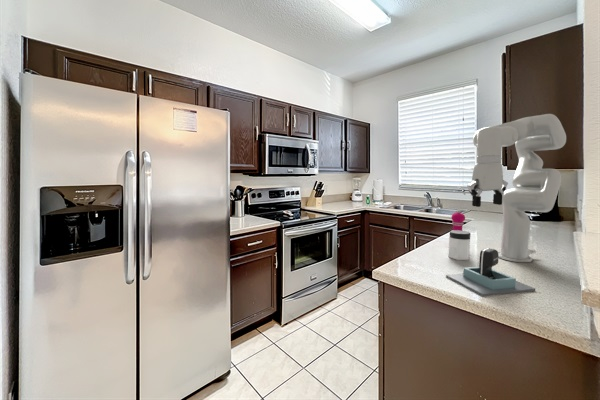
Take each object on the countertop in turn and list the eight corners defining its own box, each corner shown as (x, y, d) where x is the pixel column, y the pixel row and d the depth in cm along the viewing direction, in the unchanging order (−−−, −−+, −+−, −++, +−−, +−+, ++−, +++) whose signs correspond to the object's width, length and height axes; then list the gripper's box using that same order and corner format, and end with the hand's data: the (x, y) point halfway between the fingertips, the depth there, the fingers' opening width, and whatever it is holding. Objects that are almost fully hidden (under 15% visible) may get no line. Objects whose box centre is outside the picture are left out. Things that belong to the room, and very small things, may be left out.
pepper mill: (459, 250, 131) (461, 211, 129) (445, 247, 138) (447, 209, 136) (467, 248, 135) (470, 210, 133) (454, 245, 141) (455, 208, 139)
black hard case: (490, 285, 88) (492, 252, 87) (477, 281, 92) (479, 250, 90) (498, 280, 92) (500, 249, 91) (485, 277, 96) (487, 246, 94)
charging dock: (491, 272, 101) (492, 263, 101) (535, 290, 86) (536, 279, 85) (446, 276, 98) (446, 267, 98) (482, 296, 82) (483, 284, 82)
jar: (443, 255, 123) (444, 230, 122) (455, 253, 126) (456, 229, 125) (461, 261, 115) (463, 234, 114) (474, 259, 118) (475, 233, 117)
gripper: (498, 160, 104) (496, 202, 106) (461, 162, 101) (460, 205, 103) (517, 159, 97) (515, 204, 99) (477, 161, 93) (476, 208, 96)
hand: (487, 205), depth 101 cm, fingers open, 9 cm apart
